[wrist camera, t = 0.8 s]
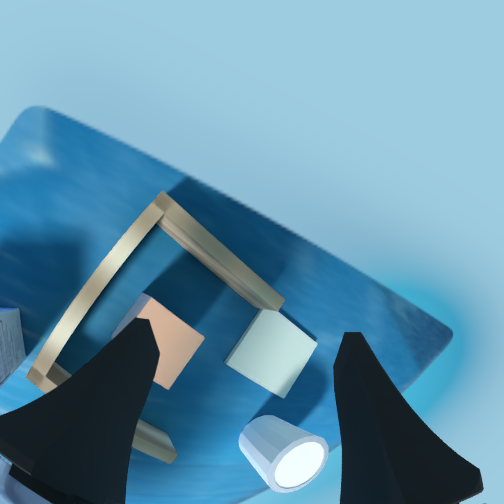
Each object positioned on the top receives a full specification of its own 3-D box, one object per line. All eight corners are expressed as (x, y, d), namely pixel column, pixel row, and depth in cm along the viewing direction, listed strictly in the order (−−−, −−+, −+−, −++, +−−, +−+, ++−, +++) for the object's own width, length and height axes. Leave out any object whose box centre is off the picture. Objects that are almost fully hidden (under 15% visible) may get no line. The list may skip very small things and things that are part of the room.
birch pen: (160, 441, 21) (170, 464, 18) (37, 362, 17) (25, 377, 14) (261, 297, 28) (285, 299, 24) (154, 203, 24) (162, 190, 20)
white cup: (280, 398, 28) (323, 422, 22) (294, 441, 28) (333, 467, 22) (224, 428, 24) (258, 463, 18) (244, 470, 25) (277, 503, 19)
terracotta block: (154, 365, 22) (168, 389, 17) (111, 334, 21) (111, 352, 16) (183, 324, 24) (205, 337, 19) (141, 292, 23) (151, 297, 17)
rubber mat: (280, 396, 28) (283, 398, 27) (223, 362, 25) (226, 364, 25) (314, 342, 30) (317, 343, 30) (264, 302, 28) (267, 302, 27)
